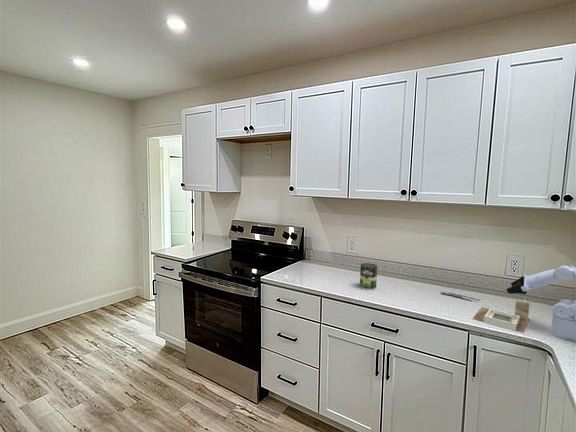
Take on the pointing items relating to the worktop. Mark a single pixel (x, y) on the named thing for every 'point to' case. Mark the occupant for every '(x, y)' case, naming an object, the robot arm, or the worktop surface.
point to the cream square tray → (502, 319)
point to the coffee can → (368, 276)
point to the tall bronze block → (522, 309)
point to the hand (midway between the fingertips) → (509, 288)
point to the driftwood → (459, 296)
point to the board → (480, 317)
